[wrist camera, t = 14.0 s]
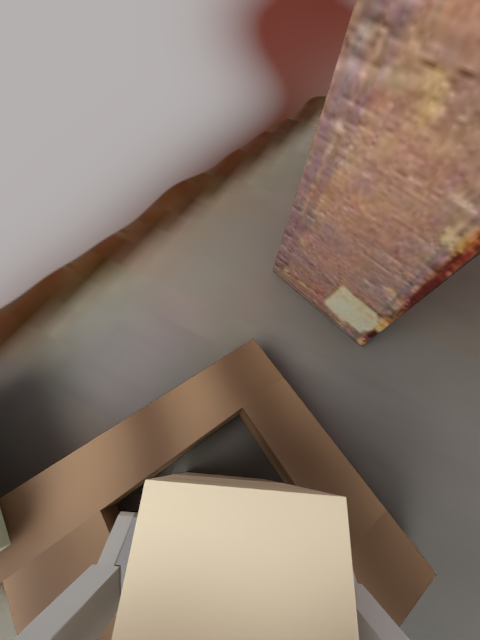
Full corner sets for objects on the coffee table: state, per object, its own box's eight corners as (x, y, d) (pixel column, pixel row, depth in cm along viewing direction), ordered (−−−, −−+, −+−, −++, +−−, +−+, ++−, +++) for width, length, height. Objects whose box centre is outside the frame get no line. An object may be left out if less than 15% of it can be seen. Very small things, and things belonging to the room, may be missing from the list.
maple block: (186, 471, 16) (145, 479, 6) (264, 478, 16) (346, 496, 6) (170, 576, 13) (66, 851, 4) (260, 582, 14) (379, 859, 4)
